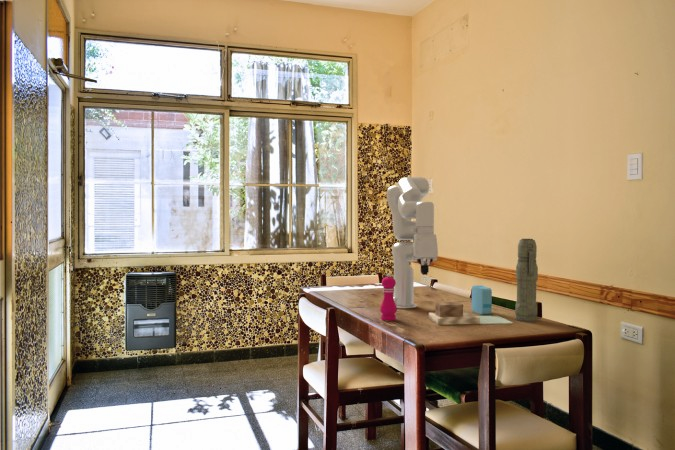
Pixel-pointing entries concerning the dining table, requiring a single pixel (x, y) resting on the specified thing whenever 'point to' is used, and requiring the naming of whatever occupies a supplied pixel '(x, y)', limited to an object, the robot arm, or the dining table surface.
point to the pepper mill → (388, 299)
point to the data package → (481, 300)
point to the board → (455, 319)
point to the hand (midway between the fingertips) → (424, 274)
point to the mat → (493, 320)
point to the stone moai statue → (526, 281)
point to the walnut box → (449, 309)
